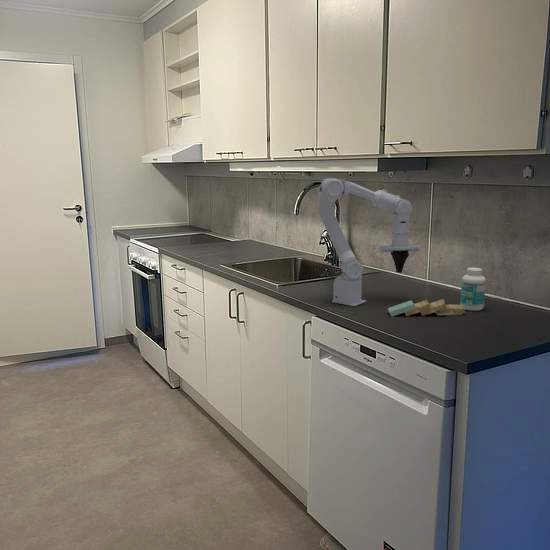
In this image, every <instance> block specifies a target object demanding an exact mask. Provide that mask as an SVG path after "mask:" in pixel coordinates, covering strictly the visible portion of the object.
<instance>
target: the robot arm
mask: <svg viewBox="0 0 550 550" xmlns="http://www.w3.org/2000/svg"><path fill="white" fill-rule="evenodd" d="M349 194H351V195H354V196H357V197H361V198H362V199H366V200H369V201H371V204H372V205H373V207H376V208H378V209H381V210H384V211H387V212H388V213H392V221H391V223H392V224H391V245H381V246H380V245H379V246H378V252H379V253H390V255H391V257H392V260H393V262H394V266H395V272H396V273H397V274H399V273H400V274H401V273H403V268H404V265H405V263H406V262H407V259H408V258H409V256H410V252H417V253H418V252H422V245H415V244H409V240H410V239H409V237H410V216H411V213H412V212H413V209H414V207H413V205H412V203H411V201H410V200H409V199H407V198H406V199H405V198H402V197H400V195H398V194H396V195H395V194H392V193H388V190H386V189H382V190H381V189H379V190H376V191H373V190H370V189H369V188H367V187H364V186H361V185H359V184H357V183H354V182H352V181H347V180H343V179H342V180H341V179H339V178H334V177H326V178H324V179H323V180H322V181H321V183H320V185H319V186H318V189H317V200H316V211H317V213H318V215H319V217H320V220H321V221H322V224H323V226H324V228H325V230H326V232H327V234H328V236H329V238H330V241H331V243H332V244H333V247H334V249H335V252H336V254H337V258H338V260H339V268H340V270H341V272H342V273H341V275H338V276H337V277H335V279H334V280H333V285H332V286H333V288H332V289H333V293H332V295H333V298H332V301H331V303H334V304H340V305H341V304H342V305H346V306H351V307H357V306H359V305H361V304H365V303H366V302H367V300H366V299H362V287H363V286H362V283H363V280H362V279H363V277H362V275H363V274H364V265H363V264H362V263H361V262H360V261H358V260H357V257H356V255H355V254H354V253H353V252H354V251H352V248H351V247H350V245H349V242H348V240H347V237H346V235H345V234H344V232H343V230H342V227H341V225H340V223H339V220H338V219H337V217H336V214H335V213H334V210H333V208H334V206H335V204H336V201H337V200H338V199H339V198H340V197H341V195H349Z"/></svg>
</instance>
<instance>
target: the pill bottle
mask: <svg viewBox="0 0 550 550" xmlns="http://www.w3.org/2000/svg"><path fill="white" fill-rule="evenodd" d="M466 273H467V274H465V275H463V276H462V277H461V289H460V301H459V305H461V306H463V307H464V308H465V311H475V312H477V311H482V310H483V309H484V307H485V298H486V297H485V296H486V284H487V283H486V281H487V280H486V279H487V278H486V277H485V276H484V275H482V273H483V268H479V267H467V268H466Z"/></svg>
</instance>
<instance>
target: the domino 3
mask: <svg viewBox="0 0 550 550" xmlns="http://www.w3.org/2000/svg"><path fill="white" fill-rule="evenodd" d="M429 304H430V307H431V308H430V309H427V310H424V311H421V312H420V315H421V317H423V316H426V315H427V316H428V315H430V314H433V313H434V312H436V311H439V310H443V309H446V308H447V307H446V305H447V304H446V302H445V300H444V298H442V299H439V300H436V301H433V302H430V303H429Z"/></svg>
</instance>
